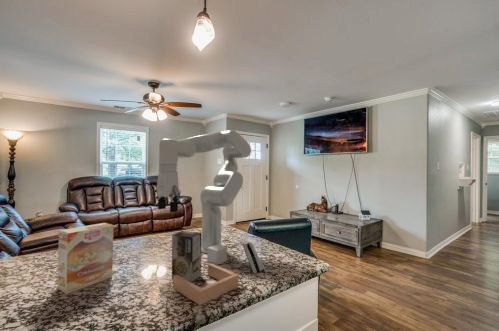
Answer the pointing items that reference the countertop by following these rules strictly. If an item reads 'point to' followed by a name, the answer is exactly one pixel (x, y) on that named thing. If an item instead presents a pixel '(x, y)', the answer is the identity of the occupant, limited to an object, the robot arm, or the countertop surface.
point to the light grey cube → (217, 254)
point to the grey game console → (253, 257)
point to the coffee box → (186, 255)
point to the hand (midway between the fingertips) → (167, 210)
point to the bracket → (211, 291)
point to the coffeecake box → (84, 256)
